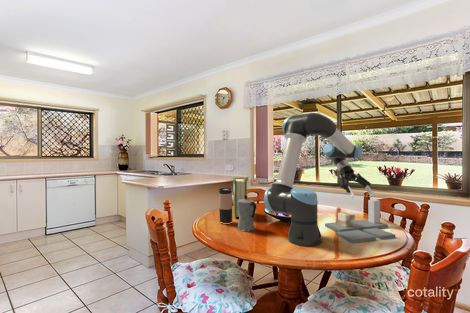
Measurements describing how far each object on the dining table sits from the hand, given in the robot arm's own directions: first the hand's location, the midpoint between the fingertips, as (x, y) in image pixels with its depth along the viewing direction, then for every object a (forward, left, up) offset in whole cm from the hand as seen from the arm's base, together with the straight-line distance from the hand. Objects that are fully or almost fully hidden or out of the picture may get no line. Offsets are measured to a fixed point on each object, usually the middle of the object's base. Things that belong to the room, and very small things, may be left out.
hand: (363, 196), depth 145 cm
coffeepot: (-70, +5, -15) cm, 71 cm away
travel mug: (-78, +21, -15) cm, 82 cm away
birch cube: (-19, -9, -13) cm, 24 cm away
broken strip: (-20, -23, -15) cm, 33 cm away
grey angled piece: (-13, -9, -15) cm, 21 cm away
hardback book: (-65, +36, -15) cm, 76 cm away
